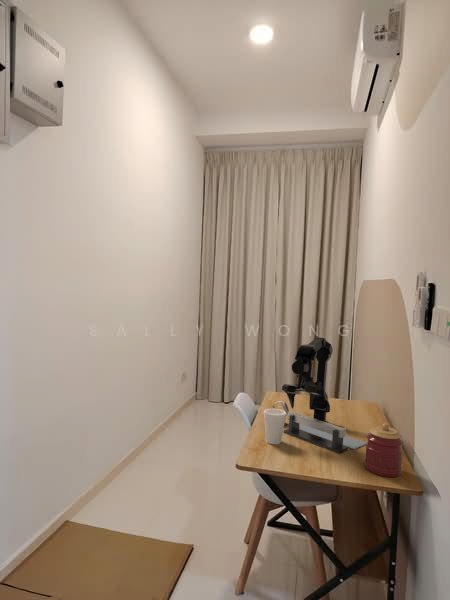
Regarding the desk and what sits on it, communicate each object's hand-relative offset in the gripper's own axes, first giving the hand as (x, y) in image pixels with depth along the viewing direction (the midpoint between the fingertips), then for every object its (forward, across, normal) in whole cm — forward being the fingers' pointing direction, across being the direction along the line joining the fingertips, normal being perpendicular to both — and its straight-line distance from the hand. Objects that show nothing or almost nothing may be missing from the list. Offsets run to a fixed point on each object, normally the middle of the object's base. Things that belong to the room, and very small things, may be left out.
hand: (301, 408), depth 180 cm
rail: (+7, +6, -3) cm, 10 cm away
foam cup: (+15, -12, 0) cm, 19 cm away
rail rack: (+13, +6, -2) cm, 15 cm away
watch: (+12, +1, +21) cm, 24 cm away
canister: (+15, +17, -34) cm, 41 cm away
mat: (+12, +16, +2) cm, 20 cm away
